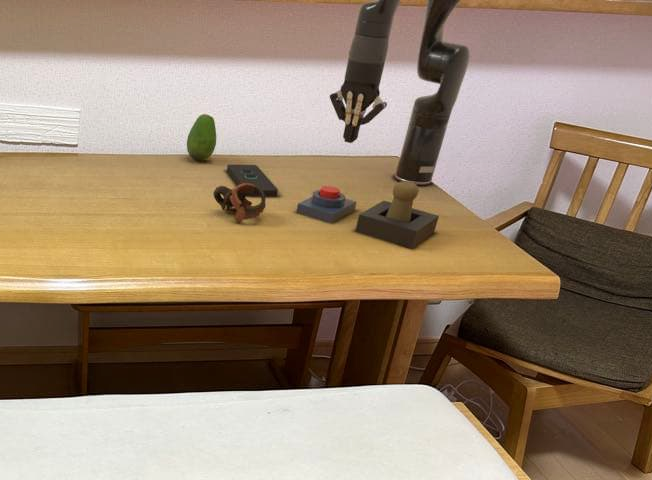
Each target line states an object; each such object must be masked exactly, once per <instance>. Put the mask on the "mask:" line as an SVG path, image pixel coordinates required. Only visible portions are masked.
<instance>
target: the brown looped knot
mask: <svg viewBox="0 0 652 480" xmlns="http://www.w3.org/2000/svg"><path fill="white" fill-rule="evenodd" d="M253 191H255V192H257V194H258V196H259V197H258V198H260V200H261V202H260V203H258V204H256V205H253V202H252V201H251V200H249V199H248V198H246V197H247V196H246V195H247V194H248V193H252V192H253ZM213 197H214V200H215V201H216V203H217V204H218V205H219V206H220V208H221V210H222V211H228V210H230V209H232V208H234V209H235V210H236V214H235V215H234V216H233V220H234V221H235V222H237V223H238V224H239V223H242V222H243V221H244V220H250V219H253V218H256V217H259V216H260V215H261V214H262V213H264V210H265V208H266V206H267V205H266V198H267V197H265V194H264V192H263V191H262V190H261V189H260V188H259V187H258V186H255V185H253V184H249V183H243V184H240V185H238V186H237V185H236V187H233V188H232V189H231V188H229V187H227V186H225V185H219V186H217V187H216V188H215V190H214V191H213Z"/></svg>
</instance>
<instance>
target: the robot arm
mask: <svg viewBox="0 0 652 480" xmlns="http://www.w3.org/2000/svg"><path fill="white" fill-rule="evenodd" d="M461 1H462V0H427V2H426V9H425V19H424V23H423V29H422V34H421V38H420V39H421V40H420V45H419V50H418V55H417V61H416V73H417V76H418V78H419V79H420V80H422V81H424V82H429V83H432V84H437V85H439V87H438V89H437V91H436V92H435V93H433V94H430V95H423V96H420V97H417V98H416V99H415V100H414V103H413V105H412V110H411V114H410V117H409V121H408V126H407V129H406V133H405V138H404V140H403V144H402V148H401V152H400V156H399V160H398V163H397V167H396V171H395V174H394V179H395V180H396V181H398V182H411V183H414V184H416V185H417V186H428V185H430V184H432V181H433V176H434V174H435V170H436V166H437V163H438V159H439V156H440V153H441V150H442V146H443V143H444V139H445V135H446V131H447V128H448V125H449V121H450V118H451V115H452V111H453V109H454V106H455V104H456V102H457V99H458V97H459V94H460V90H461V87H462V84H463V82H464V80H465V79H464V78H465V75H466V74H467V70H468V66H469V63H470V57H471V56H470V55H471V52H470V48H469V47H468V46H467V45H465V44H460V43H455V42H451V41H450V42H449V41H445V40H443V39H444V38H443V35H444V30H445V27H446V23H447V21H448V19H449V17H450V16H451V14H452V13H453V11H454V10H455V9H456V7H457V6H458V5H459V4H460V3H461ZM400 3H401V0H370V1H366V2H363V3H362V4H361V5H360V8H359V10H358V15H357V20H356V25H355V30H354V35H353V37H352V40H351V44H350V48H349V51H348V59H347V64H346V69H345V74H344V81H343V83H342V84H341V86H340V89H339V90H337V91H336V92H333V93H330V94H329V99H330V102H331V104H332V107H333V109H334V111H335V114H336V116H337V118H338V120H339V121H342V122H344V124H345V125H344V130H343V134H342V138H343V139H344V143H349V144H353V143H354V142H355V141H357V139H358V137H359V132H360V129H361V126H364V125H366V124H369V123H370V122H371V121H372V120H374V119H375V118H376V117H377V116H378V115H379V114H380V113H381V112H382V111H383V110H385V109H386V108H387V106H388V103H387V101H383V100H382V98H381V97H380V93H381V92H380V84H381V80H382V77H383V72H384V69H385V63H386V59H387V55H388V49H389V42H390V35H391V31H392V27H393V22H394V17H395V14H396V12H397V10H398V7H399V5H400ZM343 101H344V102H343ZM371 105H372V109H371V110H370V111H369V112H368V113H367V114H366V112H367V109H368V108H369V107H370V106H371ZM365 114H366V115H365Z"/></svg>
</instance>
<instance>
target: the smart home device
mask: <svg viewBox="0 0 652 480" xmlns="http://www.w3.org/2000/svg"><path fill="white" fill-rule="evenodd" d="M226 172H227V174H228V175H229V177H230V178H231V179H232V180H233V182H234V183H235V185H236V187H237V186H238V185H240V184H243V183H249V184H253V185H255V186H258V187H259V188H260V189H261V190H262V191H263V192H264V194H265V197H266V198H277V197H278V191H279V189H278V188H277V187H276V186H275V184H274V183H273V182H272V181H271V179H269V178H268V177H267V175H266V174H265V173H264V172H263V170H261V168H260V167H259V166H258V165H257V164H231V163H229V164H228V163H227V165H226ZM246 197H249V198H250V197H252V198H255V197H257V198H260V197H259V196H258V194H257V192H255V191H253V192H252V193H248V194H247V195H246Z"/></svg>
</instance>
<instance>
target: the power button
mask: <svg viewBox="0 0 652 480" xmlns="http://www.w3.org/2000/svg"><path fill="white" fill-rule="evenodd" d="M319 190H320V194H319V195H320V196H321V197H324V198H330V199H337V198H339V194H340V193H341V189H340V188H338V187H336V186H332V185H323V186H321V187H320V189H319Z"/></svg>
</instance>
